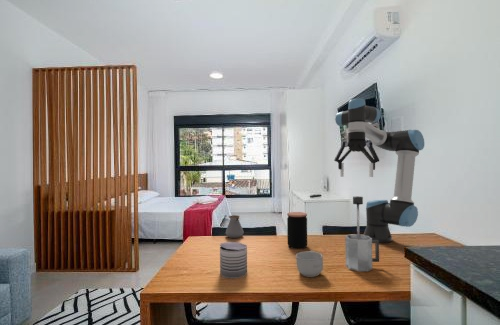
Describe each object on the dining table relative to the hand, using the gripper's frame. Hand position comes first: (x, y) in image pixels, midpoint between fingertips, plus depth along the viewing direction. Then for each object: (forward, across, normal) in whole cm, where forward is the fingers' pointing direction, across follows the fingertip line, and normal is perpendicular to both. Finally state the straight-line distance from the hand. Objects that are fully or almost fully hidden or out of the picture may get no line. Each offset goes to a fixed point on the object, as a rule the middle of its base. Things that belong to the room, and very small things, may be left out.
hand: (356, 176), depth 132 cm
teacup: (+40, +24, +17) cm, 49 cm away
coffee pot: (+40, +60, -36) cm, 81 cm away
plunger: (+28, +2, +10) cm, 30 cm away
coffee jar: (+39, +25, -20) cm, 51 cm away
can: (+41, +56, +18) cm, 71 cm away
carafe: (+39, +1, +10) cm, 40 cm away
